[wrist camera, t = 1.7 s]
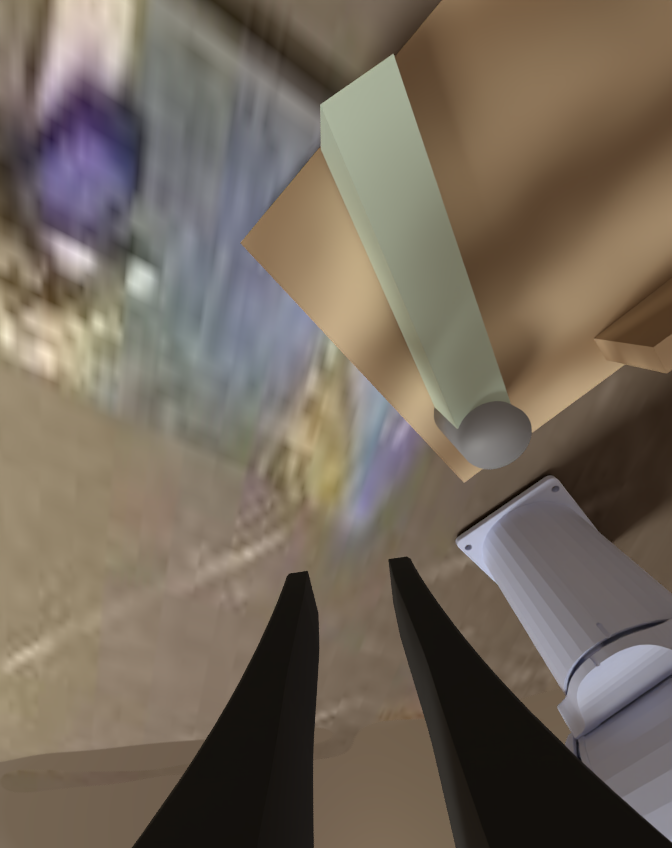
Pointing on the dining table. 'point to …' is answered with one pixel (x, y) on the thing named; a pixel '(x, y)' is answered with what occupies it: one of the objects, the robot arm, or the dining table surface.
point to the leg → (419, 263)
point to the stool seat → (514, 203)
